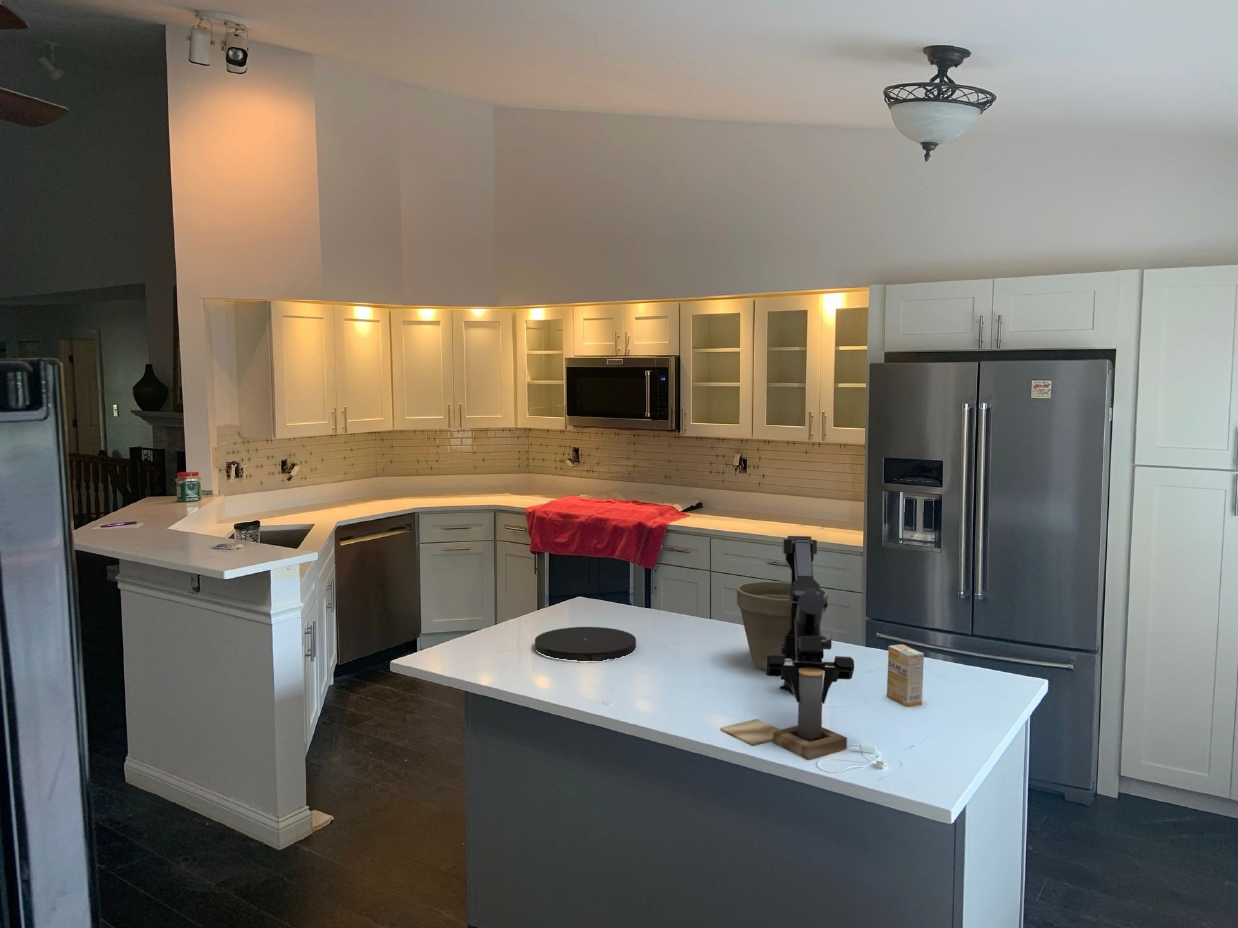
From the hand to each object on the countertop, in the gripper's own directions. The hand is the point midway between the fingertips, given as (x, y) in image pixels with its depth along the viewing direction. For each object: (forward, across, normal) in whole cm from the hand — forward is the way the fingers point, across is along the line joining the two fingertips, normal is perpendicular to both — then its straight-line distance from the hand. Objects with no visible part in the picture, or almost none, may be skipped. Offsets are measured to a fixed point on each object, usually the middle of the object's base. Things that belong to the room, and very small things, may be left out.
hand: (810, 702), depth 200 cm
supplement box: (-17, +26, +31) cm, 44 cm away
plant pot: (-34, -3, +49) cm, 60 cm away
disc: (-41, -60, +56) cm, 92 cm away
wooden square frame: (+6, 0, +8) cm, 10 cm away
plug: (+5, 0, +6) cm, 8 cm away
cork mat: (+2, -12, +12) cm, 17 cm away
